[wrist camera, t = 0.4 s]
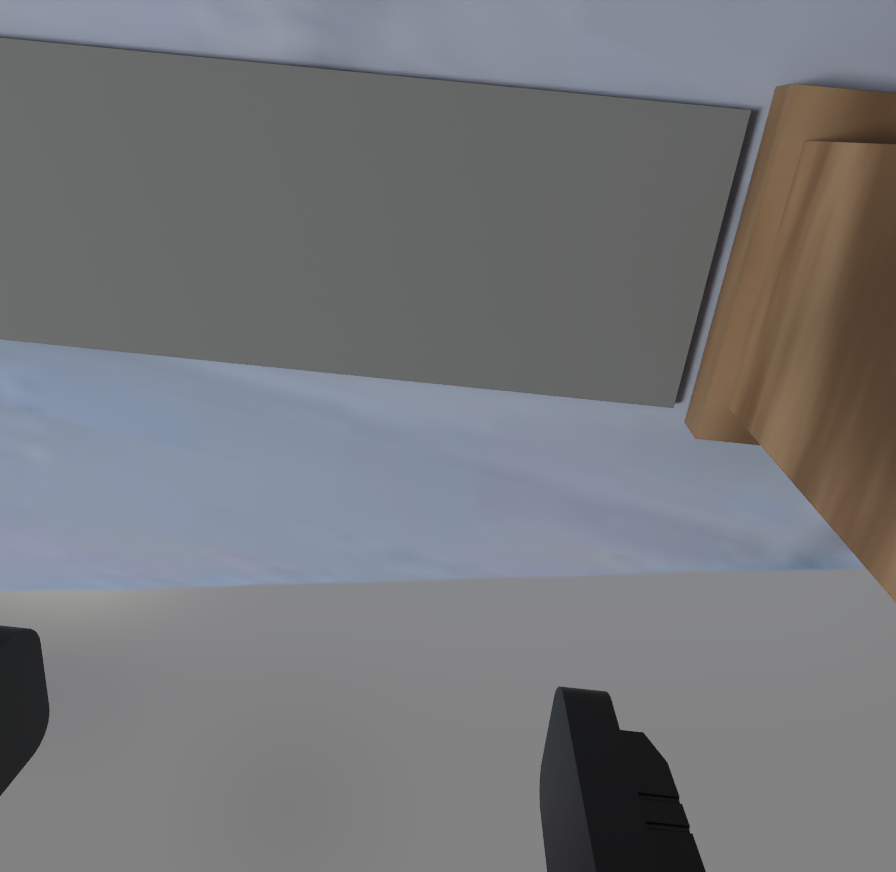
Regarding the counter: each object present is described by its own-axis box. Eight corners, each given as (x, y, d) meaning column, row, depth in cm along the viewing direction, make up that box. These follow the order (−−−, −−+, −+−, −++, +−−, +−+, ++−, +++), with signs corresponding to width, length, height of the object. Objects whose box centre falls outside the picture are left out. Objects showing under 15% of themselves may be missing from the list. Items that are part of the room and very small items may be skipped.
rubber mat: (-106, 324, 35) (-115, 327, 34) (-195, 19, 29) (-208, 17, 28) (670, 403, 34) (673, 407, 34) (746, 110, 28) (751, 110, 28)
